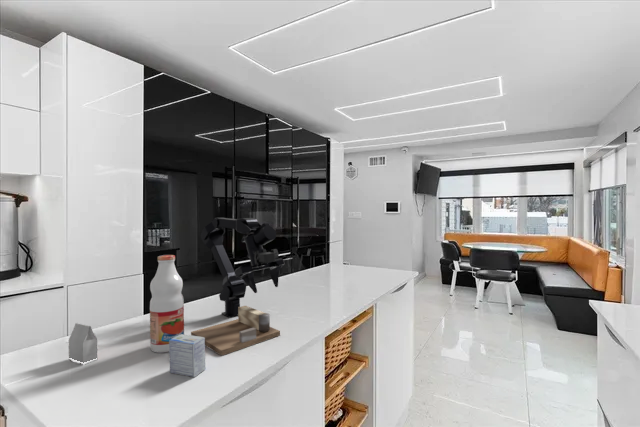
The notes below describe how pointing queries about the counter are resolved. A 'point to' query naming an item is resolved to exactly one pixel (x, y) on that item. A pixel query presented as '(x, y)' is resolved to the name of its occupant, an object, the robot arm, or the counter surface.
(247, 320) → the hinged leg
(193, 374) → the medicine box
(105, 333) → the counter surface
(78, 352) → the grey milk carton
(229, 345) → the wooden board
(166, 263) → the fruit juice
